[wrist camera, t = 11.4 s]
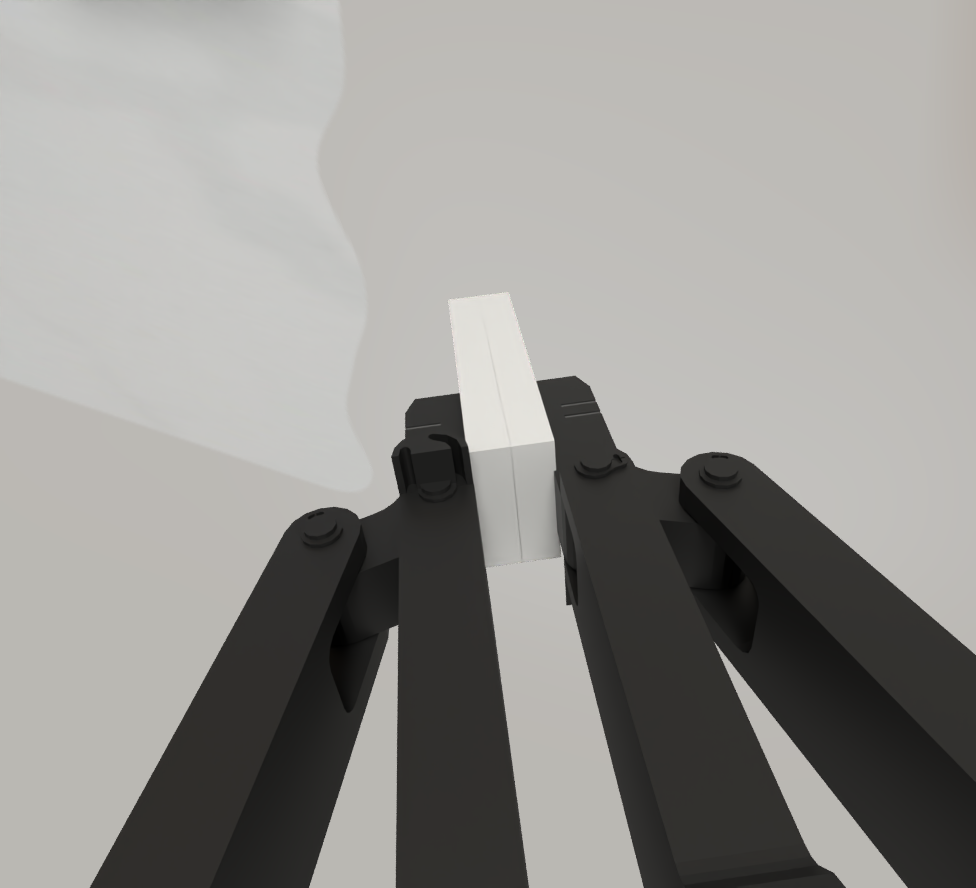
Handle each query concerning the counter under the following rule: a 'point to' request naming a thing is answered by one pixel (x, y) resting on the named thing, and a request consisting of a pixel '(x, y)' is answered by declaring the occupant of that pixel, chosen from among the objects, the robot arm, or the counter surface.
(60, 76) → the counter surface
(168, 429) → the counter surface
